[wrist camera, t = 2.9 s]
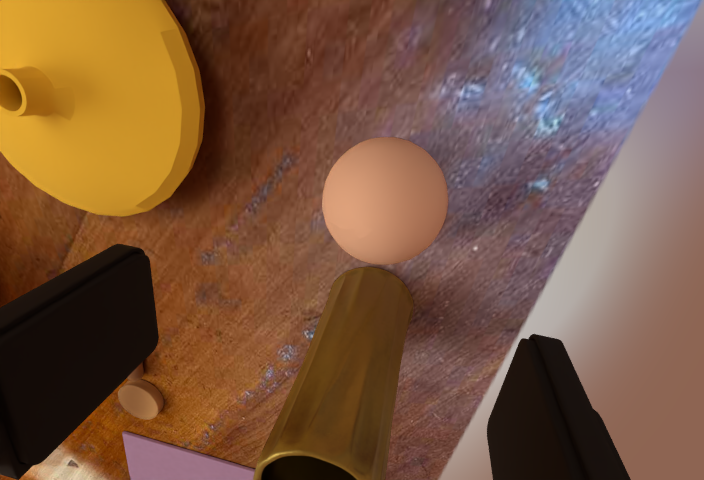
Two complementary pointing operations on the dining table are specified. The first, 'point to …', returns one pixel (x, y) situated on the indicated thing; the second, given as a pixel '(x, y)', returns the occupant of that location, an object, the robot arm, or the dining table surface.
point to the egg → (385, 200)
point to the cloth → (176, 462)
